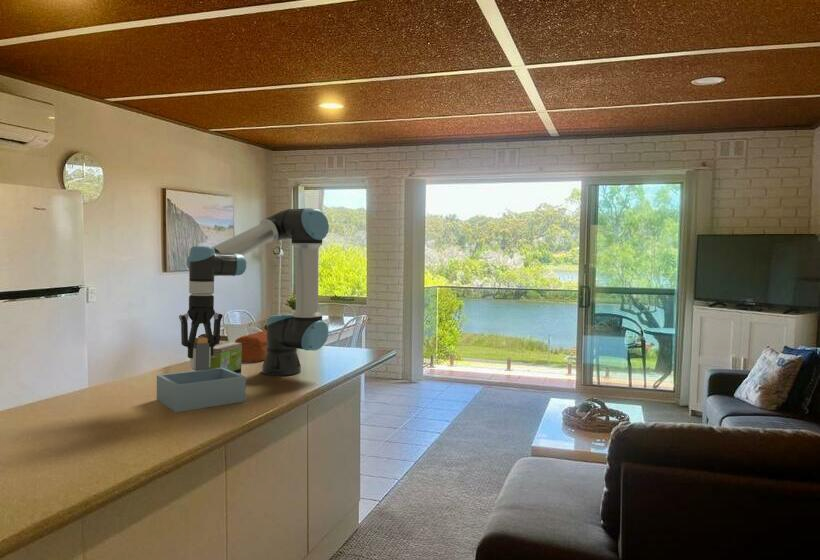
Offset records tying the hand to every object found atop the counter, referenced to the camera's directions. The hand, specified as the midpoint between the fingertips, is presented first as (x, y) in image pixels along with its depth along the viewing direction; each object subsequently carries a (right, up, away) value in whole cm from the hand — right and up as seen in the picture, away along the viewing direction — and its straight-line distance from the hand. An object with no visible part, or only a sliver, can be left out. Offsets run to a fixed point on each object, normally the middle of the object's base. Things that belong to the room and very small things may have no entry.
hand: (200, 367), depth 190 cm
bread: (-1, -7, +80) cm, 80 cm away
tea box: (-1, -10, +23) cm, 25 cm away
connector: (0, -1, 0) cm, 1 cm away
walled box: (0, -11, +1) cm, 11 cm away
